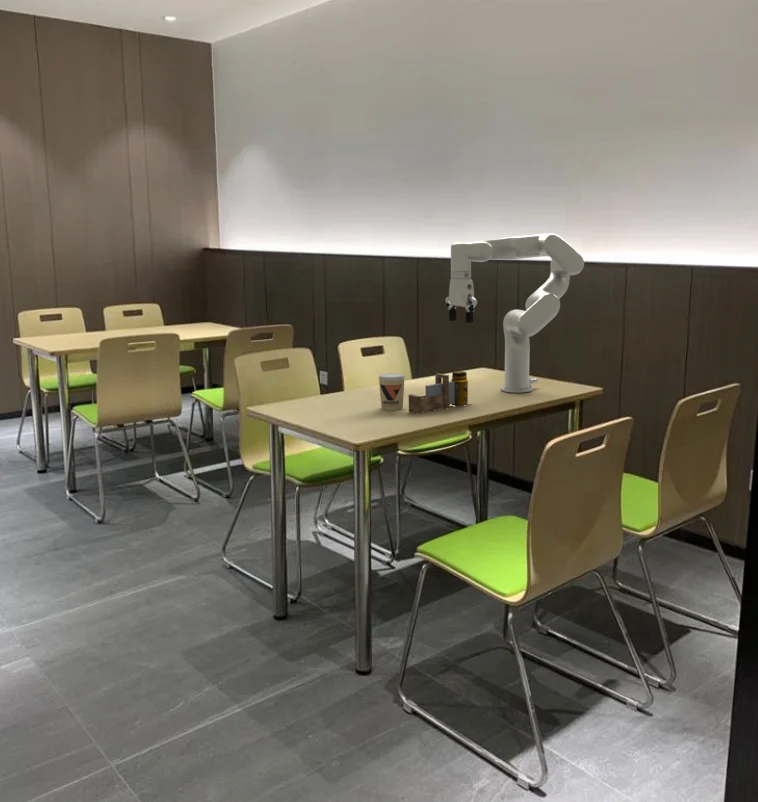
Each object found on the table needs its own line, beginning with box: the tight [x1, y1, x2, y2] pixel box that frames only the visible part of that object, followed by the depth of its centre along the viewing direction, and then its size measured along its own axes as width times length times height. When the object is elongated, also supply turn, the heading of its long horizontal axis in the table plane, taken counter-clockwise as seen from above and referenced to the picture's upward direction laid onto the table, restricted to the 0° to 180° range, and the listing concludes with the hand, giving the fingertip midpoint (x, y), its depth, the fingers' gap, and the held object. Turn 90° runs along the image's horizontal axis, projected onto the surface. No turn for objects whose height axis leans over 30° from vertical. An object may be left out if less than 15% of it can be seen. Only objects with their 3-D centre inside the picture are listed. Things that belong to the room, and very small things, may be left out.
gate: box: [425, 380, 455, 405], centre depth 281 cm, size 12×2×8 cm, turn 125°
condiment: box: [450, 370, 469, 408], centre depth 286 cm, size 7×8×12 cm
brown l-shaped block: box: [408, 372, 450, 414], centre depth 278 cm, size 14×6×12 cm, turn 125°
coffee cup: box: [378, 372, 406, 411], centre depth 283 cm, size 9×9×12 cm
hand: (460, 321), depth 300 cm, fingers open, 9 cm apart
